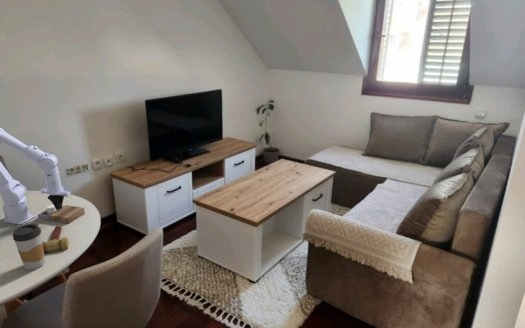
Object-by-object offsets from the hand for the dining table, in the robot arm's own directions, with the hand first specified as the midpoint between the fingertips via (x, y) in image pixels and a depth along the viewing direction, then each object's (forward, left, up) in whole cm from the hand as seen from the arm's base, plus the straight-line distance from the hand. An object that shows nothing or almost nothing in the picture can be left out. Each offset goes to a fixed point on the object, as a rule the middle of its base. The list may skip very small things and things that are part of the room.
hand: (59, 208), depth 159 cm
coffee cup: (+20, -32, -4) cm, 38 cm away
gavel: (+13, -16, -4) cm, 21 cm away
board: (+4, 0, -4) cm, 5 cm away
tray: (-4, 0, -4) cm, 6 cm away
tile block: (-2, 0, -1) cm, 3 cm away
